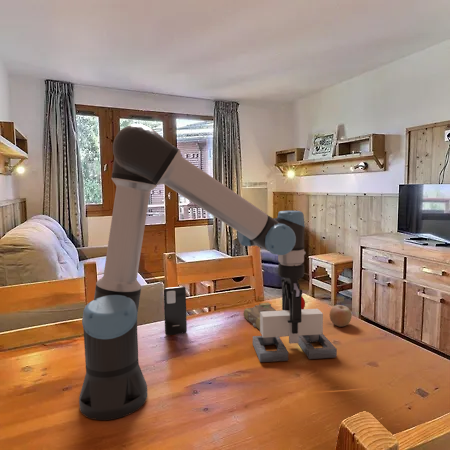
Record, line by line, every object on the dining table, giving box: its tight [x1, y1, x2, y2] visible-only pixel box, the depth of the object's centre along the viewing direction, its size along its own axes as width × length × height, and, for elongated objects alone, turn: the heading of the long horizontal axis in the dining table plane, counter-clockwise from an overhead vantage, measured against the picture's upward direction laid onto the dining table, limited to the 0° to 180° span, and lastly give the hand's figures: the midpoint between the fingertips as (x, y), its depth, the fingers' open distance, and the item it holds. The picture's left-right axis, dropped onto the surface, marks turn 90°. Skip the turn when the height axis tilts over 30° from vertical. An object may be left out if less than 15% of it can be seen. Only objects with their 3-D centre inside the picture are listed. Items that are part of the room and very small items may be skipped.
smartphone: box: [163, 286, 188, 336], centre depth 118 cm, size 7×1×16 cm, turn 107°
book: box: [243, 302, 277, 331], centre depth 128 cm, size 15×11×5 cm
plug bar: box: [259, 308, 324, 344], centre depth 107 cm, size 18×4×8 cm, turn 96°
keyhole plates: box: [252, 333, 338, 363], centre depth 106 cm, size 22×12×2 cm, turn 96°
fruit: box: [329, 302, 353, 328], centre depth 124 cm, size 8×7×8 cm
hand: (291, 338), depth 107 cm, fingers closed on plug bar, 4 cm apart
